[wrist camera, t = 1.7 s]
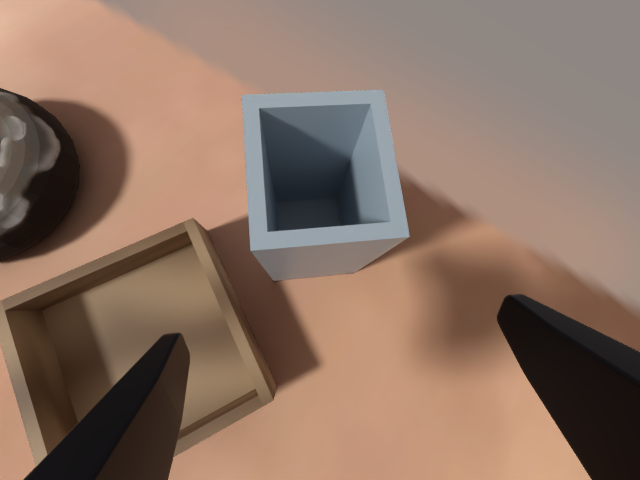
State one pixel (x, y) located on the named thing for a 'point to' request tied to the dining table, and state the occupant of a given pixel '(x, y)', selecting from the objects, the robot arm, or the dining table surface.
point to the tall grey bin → (321, 182)
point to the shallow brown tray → (133, 337)
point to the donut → (32, 173)
